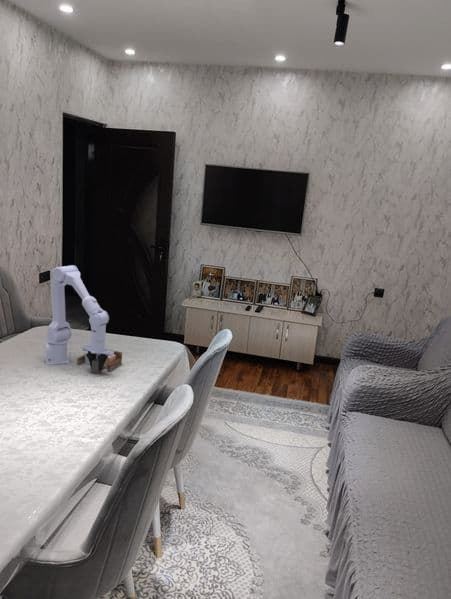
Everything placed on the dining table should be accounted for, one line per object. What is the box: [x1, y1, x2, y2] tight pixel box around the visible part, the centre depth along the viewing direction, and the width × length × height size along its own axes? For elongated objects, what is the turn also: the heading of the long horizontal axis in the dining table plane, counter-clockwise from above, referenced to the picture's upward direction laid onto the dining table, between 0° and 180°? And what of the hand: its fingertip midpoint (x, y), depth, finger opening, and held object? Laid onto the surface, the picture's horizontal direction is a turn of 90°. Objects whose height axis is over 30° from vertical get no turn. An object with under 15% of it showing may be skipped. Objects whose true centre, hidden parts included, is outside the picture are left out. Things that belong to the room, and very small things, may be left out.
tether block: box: [90, 355, 116, 375], centre depth 204 cm, size 5×13×6 cm, turn 163°
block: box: [84, 351, 101, 365], centre depth 210 cm, size 5×5×5 cm
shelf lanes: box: [76, 348, 123, 373], centre depth 209 cm, size 17×10×6 cm, turn 73°
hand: (96, 369), depth 200 cm, fingers closed on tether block, 3 cm apart
